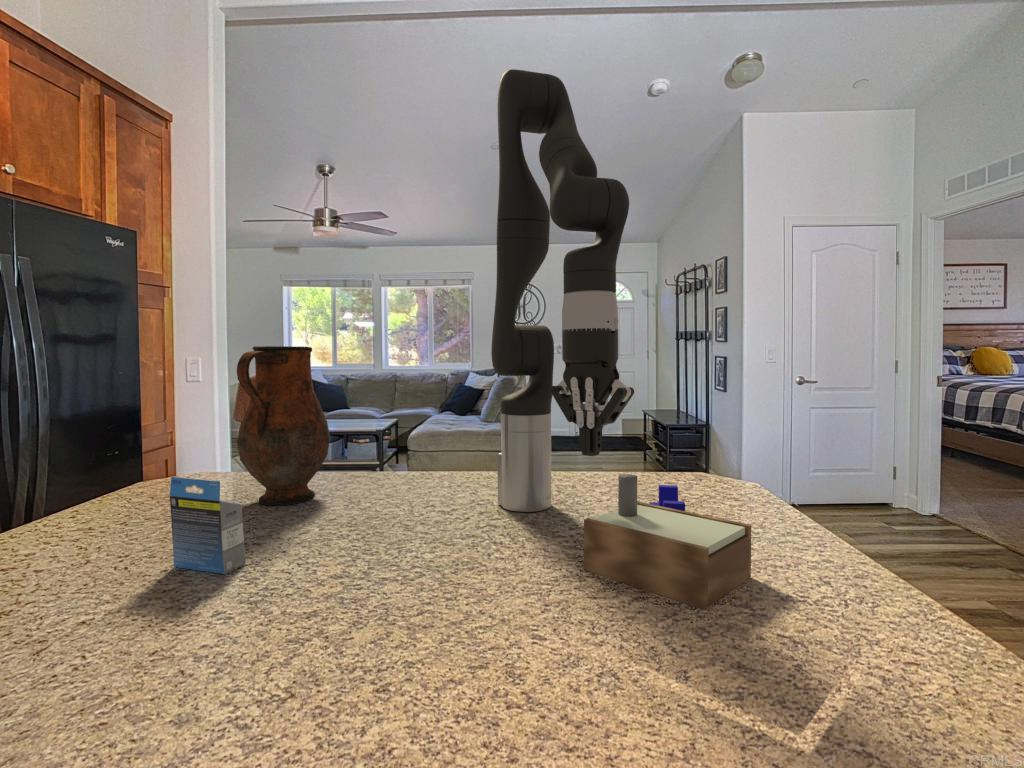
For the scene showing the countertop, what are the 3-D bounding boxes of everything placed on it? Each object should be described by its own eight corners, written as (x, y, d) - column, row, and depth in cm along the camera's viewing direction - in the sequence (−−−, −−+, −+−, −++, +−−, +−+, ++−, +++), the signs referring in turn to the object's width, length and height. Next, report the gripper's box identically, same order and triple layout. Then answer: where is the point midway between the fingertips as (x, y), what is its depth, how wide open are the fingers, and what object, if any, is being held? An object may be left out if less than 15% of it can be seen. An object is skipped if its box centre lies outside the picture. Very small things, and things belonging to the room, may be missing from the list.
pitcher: (346, 489, 118) (343, 346, 117) (288, 519, 97) (283, 344, 96) (274, 487, 121) (270, 347, 120) (203, 514, 100) (197, 345, 99)
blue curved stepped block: (649, 519, 96) (649, 484, 96) (676, 520, 95) (677, 485, 95) (653, 542, 84) (653, 502, 84) (684, 544, 83) (685, 503, 83)
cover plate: (591, 525, 71) (591, 479, 71) (634, 510, 78) (634, 468, 78) (707, 555, 61) (707, 501, 60) (745, 534, 67) (745, 485, 67)
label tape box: (246, 565, 76) (244, 474, 75) (222, 576, 72) (219, 481, 71) (196, 558, 79) (193, 470, 78) (170, 568, 75) (167, 476, 74)
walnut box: (584, 575, 71) (583, 519, 71) (636, 551, 80) (636, 501, 79) (704, 616, 60) (705, 549, 59) (750, 583, 68) (751, 524, 68)
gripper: (535, 329, 78) (536, 453, 79) (614, 323, 69) (615, 464, 70) (569, 330, 84) (570, 447, 84) (647, 326, 74) (648, 457, 75)
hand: (590, 454), depth 77 cm, fingers closed
